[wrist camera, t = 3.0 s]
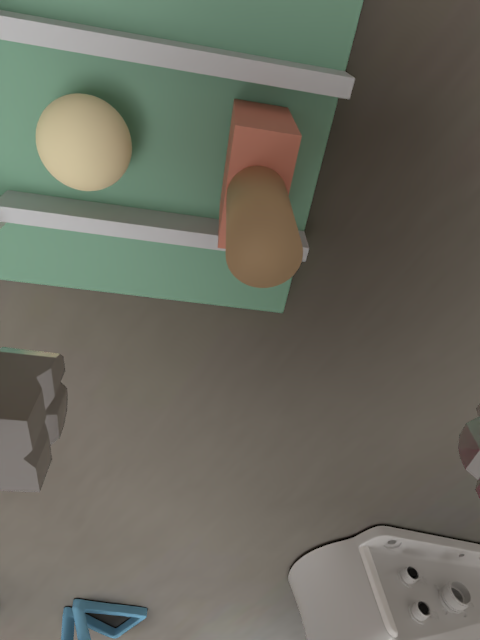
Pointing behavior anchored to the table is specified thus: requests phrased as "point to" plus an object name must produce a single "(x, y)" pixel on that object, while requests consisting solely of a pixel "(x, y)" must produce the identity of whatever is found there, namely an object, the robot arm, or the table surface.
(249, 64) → the pitch
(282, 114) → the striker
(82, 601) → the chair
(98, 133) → the ball
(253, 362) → the table surface
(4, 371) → the robot arm
